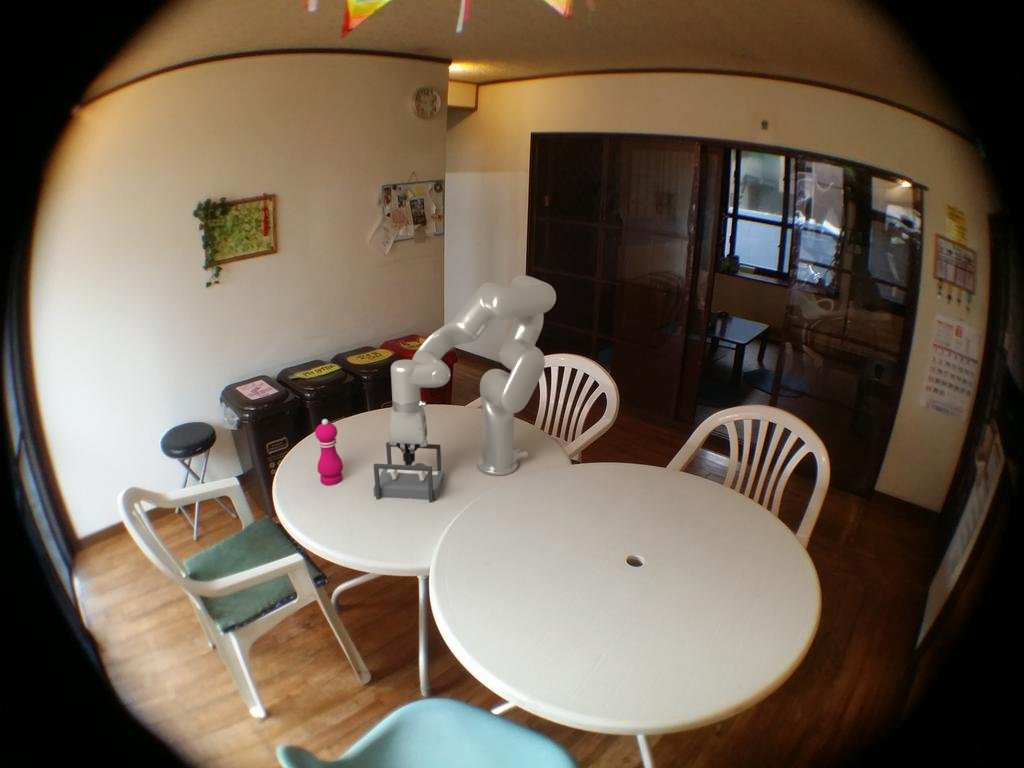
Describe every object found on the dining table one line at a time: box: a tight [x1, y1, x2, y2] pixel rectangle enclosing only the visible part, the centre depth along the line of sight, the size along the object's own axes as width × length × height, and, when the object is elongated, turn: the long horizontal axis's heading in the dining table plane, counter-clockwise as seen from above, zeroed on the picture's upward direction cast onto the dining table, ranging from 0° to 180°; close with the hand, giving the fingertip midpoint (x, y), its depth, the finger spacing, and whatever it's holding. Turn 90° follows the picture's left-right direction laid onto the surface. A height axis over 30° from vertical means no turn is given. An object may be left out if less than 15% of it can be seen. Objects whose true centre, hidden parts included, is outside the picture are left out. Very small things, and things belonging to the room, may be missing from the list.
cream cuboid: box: [418, 471, 426, 481], centre depth 163 cm, size 1×3×2 cm, turn 174°
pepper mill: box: [314, 418, 344, 486], centre depth 164 cm, size 7×7×20 cm
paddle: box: [390, 469, 398, 479], centre depth 164 cm, size 1×3×2 cm, turn 174°
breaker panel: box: [372, 469, 445, 501], centre depth 165 cm, size 18×11×3 cm, turn 86°
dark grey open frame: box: [373, 441, 442, 503], centre depth 163 cm, size 16×14×11 cm
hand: (409, 463), depth 162 cm, fingers closed
